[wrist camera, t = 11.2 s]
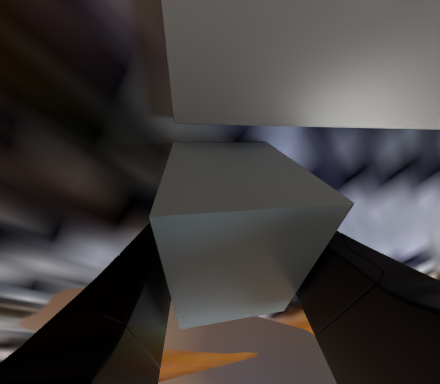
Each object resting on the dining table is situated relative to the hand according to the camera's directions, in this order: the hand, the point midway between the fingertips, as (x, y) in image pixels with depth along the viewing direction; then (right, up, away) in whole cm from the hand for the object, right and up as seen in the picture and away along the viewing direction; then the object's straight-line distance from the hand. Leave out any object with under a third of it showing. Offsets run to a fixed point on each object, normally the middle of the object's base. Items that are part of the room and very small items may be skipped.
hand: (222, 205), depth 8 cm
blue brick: (0, +1, +1) cm, 1 cm away
